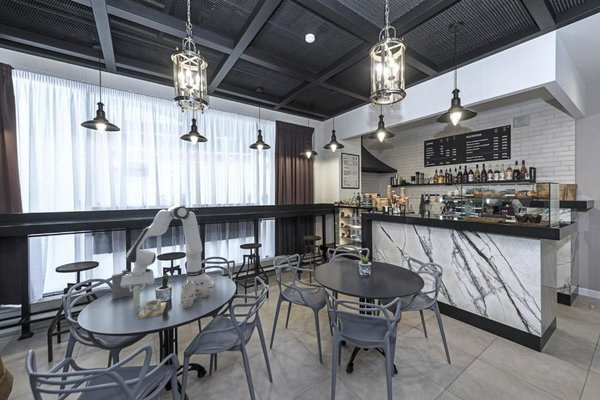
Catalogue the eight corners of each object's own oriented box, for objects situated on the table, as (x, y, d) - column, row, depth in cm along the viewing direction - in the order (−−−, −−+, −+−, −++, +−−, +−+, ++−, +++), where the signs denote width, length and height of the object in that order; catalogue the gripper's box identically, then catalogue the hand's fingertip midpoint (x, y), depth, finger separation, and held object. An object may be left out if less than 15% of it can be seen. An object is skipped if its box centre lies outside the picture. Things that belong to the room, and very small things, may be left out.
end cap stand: (166, 304, 173) (166, 296, 173) (162, 314, 158) (162, 306, 158) (143, 307, 168) (143, 299, 168) (137, 318, 153) (137, 310, 153)
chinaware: (189, 314, 162) (191, 289, 161) (167, 309, 166) (169, 285, 165) (212, 296, 190) (214, 275, 189) (193, 292, 193) (195, 272, 192)
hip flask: (112, 299, 182) (111, 272, 181) (113, 297, 185) (112, 271, 185) (137, 294, 190) (137, 269, 190) (138, 292, 194) (137, 267, 193)
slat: (139, 304, 173) (139, 285, 172) (137, 307, 168) (137, 287, 168) (135, 305, 172) (135, 285, 171) (133, 308, 167) (133, 288, 167)
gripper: (121, 272, 172) (117, 291, 163) (154, 269, 179) (152, 287, 171) (123, 277, 176) (119, 295, 168) (155, 273, 184) (153, 291, 175)
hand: (136, 291), depth 169 cm, fingers open, 5 cm apart
